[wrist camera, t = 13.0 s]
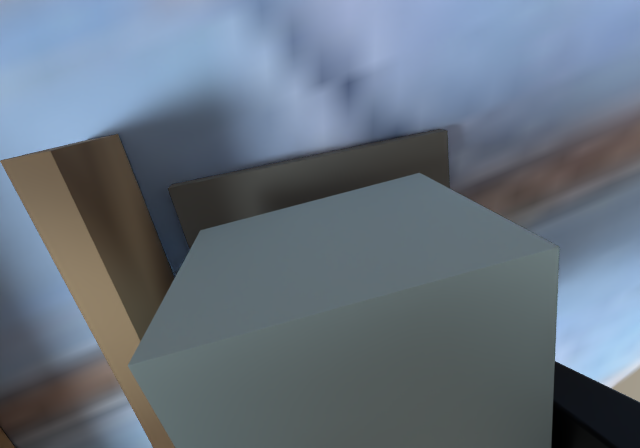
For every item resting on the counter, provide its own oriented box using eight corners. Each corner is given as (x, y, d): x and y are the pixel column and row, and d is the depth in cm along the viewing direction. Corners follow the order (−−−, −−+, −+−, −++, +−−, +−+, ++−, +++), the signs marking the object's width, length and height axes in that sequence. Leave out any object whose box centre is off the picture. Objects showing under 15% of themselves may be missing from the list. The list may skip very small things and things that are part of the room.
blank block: (200, 230, 7) (128, 365, 4) (419, 172, 8) (559, 246, 4) (275, 419, 10) (276, 622, 6) (443, 371, 10) (547, 539, 6)
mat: (172, 184, 9) (167, 188, 8) (440, 128, 9) (447, 130, 9) (259, 431, 12) (259, 442, 11) (452, 383, 12) (457, 393, 12)
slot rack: (-216, 199, 8) (-444, 247, 5) (118, 134, 8) (50, 150, 6) (52, 532, 12) (-2, 638, 10) (254, 481, 13) (249, 571, 10)
